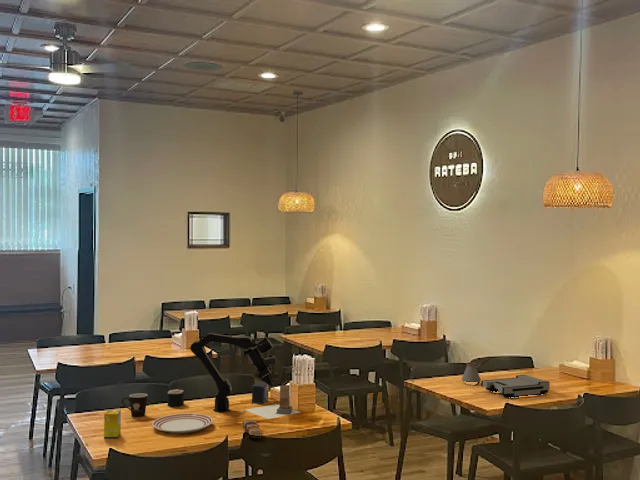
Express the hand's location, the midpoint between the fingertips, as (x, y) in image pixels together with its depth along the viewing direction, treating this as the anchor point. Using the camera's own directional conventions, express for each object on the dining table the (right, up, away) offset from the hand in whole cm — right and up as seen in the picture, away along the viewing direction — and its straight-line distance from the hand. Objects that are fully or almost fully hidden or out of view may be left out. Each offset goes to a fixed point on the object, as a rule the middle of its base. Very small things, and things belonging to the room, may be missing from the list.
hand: (272, 384), depth 330 cm
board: (0, -13, -6) cm, 15 cm away
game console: (+137, -16, +44) cm, 145 cm away
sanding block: (+7, -12, -7) cm, 16 cm away
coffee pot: (+122, -16, +71) cm, 142 cm away
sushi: (-52, -13, +8) cm, 54 cm away
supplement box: (-67, -13, -48) cm, 83 cm away
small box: (-8, -14, +14) cm, 21 cm away
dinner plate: (-39, -13, -32) cm, 52 cm away
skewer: (-7, -14, -40) cm, 43 cm away
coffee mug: (-67, -13, -12) cm, 69 cm away
